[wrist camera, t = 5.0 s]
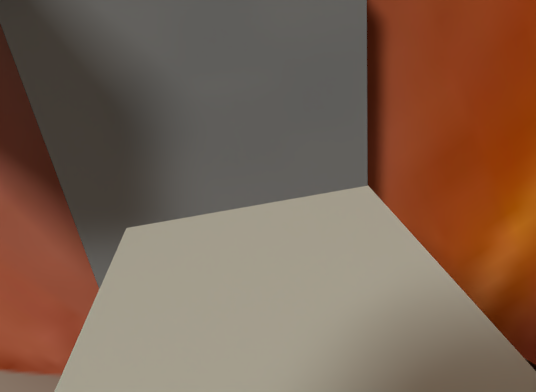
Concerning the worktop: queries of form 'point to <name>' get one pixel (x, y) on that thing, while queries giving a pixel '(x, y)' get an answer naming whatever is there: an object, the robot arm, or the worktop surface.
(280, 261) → the cube
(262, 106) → the plinth
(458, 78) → the worktop surface
